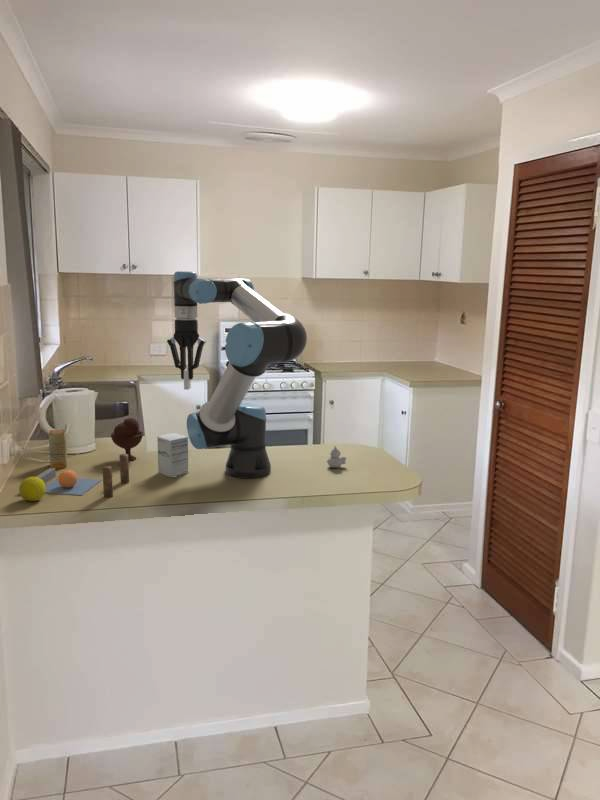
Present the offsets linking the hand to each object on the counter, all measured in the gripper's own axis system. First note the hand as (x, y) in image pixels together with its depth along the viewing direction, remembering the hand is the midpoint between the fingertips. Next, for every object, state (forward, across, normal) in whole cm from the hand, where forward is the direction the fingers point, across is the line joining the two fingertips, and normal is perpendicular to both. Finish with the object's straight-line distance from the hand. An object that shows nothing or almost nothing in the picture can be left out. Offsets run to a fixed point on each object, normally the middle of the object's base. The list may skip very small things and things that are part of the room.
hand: (187, 388), depth 221 cm
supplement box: (+27, -2, -11) cm, 29 cm away
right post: (+26, -14, -22) cm, 37 cm away
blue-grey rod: (+26, -39, -29) cm, 55 cm away
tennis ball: (+27, -34, -42) cm, 60 cm away
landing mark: (+26, -29, -29) cm, 49 cm away
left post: (+26, -14, -35) cm, 46 cm away
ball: (+24, -29, -30) cm, 48 cm away
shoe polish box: (+27, -42, -10) cm, 51 cm away
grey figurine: (+27, +51, +5) cm, 58 cm away
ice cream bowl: (+27, -22, 0) cm, 35 cm away
